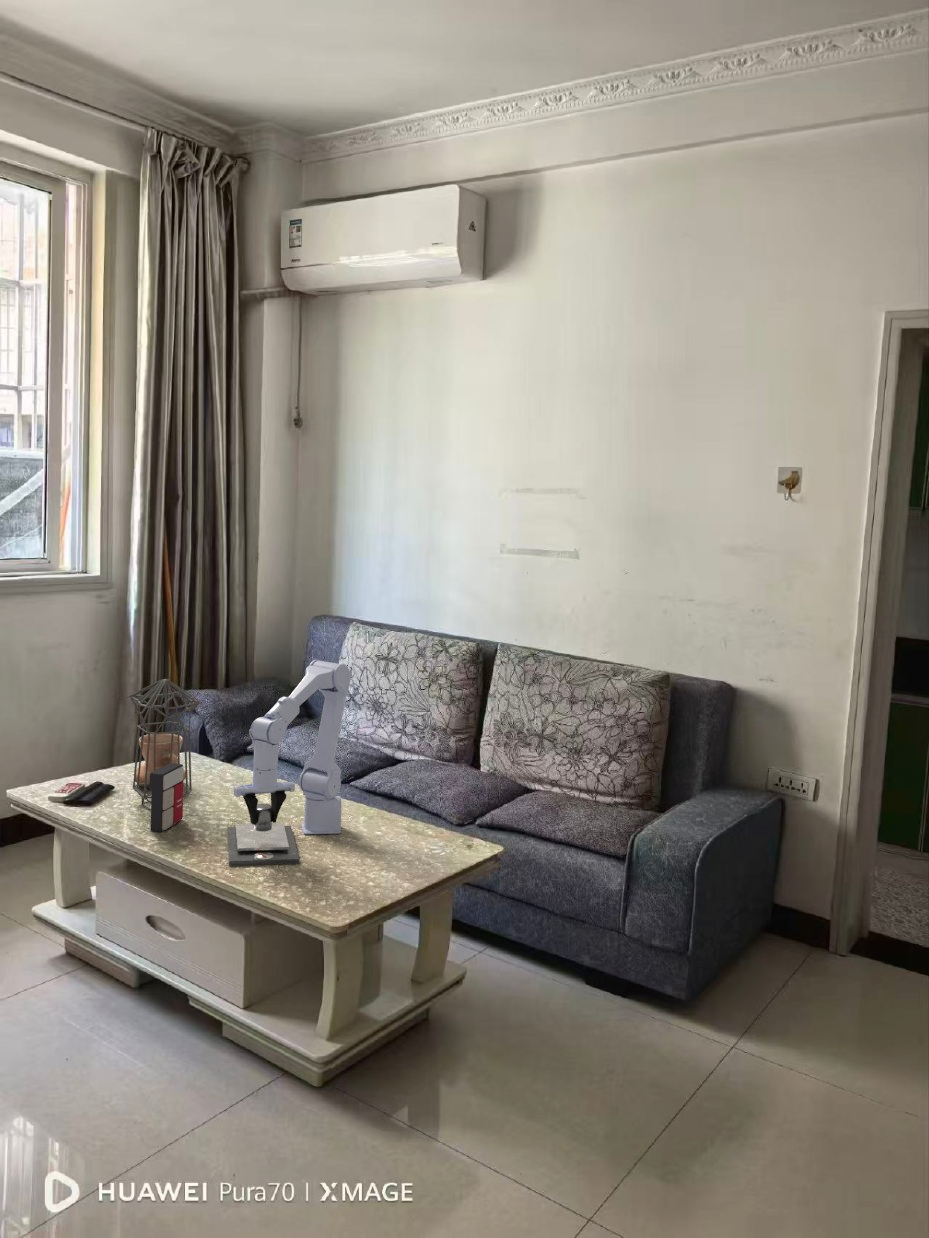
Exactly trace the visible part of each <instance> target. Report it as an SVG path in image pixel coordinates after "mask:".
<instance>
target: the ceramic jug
mask: <svg viewBox="0 0 929 1238" xmlns="http://www.w3.org/2000/svg"><path fill="white" fill-rule="evenodd" d="M141 737H142V736H140V737H139V748H140V747H141ZM183 739H184V738H183V736H181V735H179V741H180V750H181V748H182V746H183V742H184V740H183ZM147 744H148V734H146V735H145V734H144V738H143V748H142V759H144V762H145V763H144V764H141V768H140V778H139V784H143V783H145V770H146V757H147ZM170 751H171V733H168V734H156V770H157V769H159V768H161V767H163V766H165V765H167V764H169V763H170ZM172 763H176V764H178V741H177V734H175V733H173V750H172ZM153 771H154V735H152V734H150V746H149V759H148V772H147V783H149V782H150V773H151V772H153ZM137 778H138V768H137V770H136V781H135V784H137ZM184 781H186V775H185V768H184V769H183V782H184ZM141 787H143V788H144V785H142V786H141ZM146 789H150V788H149V785H146Z"/></svg>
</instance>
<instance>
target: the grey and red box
mask: <svg viewBox="0 0 929 1238" xmlns="http://www.w3.org/2000/svg"><path fill="white" fill-rule="evenodd" d="M183 769H184V770H185V766H184V764H182V763H180V764H176V763H169V764H167V765H165V766H163V767H161V768H159V769H157V770H155V771H153V772H151V773H150V782H149V788H148V789H149V790H150V792H151V793H150V794H151V798H150V801H151V803H150V809H151V810H150V831H151V832H158V833H162V832H164V831H165V830H167V829H169V828H170V827H172V826H173V825H175V824H177V823H179V822H180V821H181V820H183V816H184V815H183V814H184V798H183V793H185V791H184V788H185V787H184V785H185V783H184V781H183Z"/></svg>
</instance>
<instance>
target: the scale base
mask: <svg viewBox="0 0 929 1238" xmlns="http://www.w3.org/2000/svg"><path fill="white" fill-rule="evenodd" d="M284 827H285V831H286V836H287V840H288V845H289V849H285V850H250V851H238V850H237V838H236V826H227V827H226V833H227V834H226V835H227V836H226V837H227V853H228V855H229V856H228V865H229V867H242V866H243V867H247V866H271V865H272V866H273V865H274V866H278V864H279V866H280V865H299V864H300V857H299V854H298V848H297V846H296V841H295V837H294V833H293V832H294V831H293V829H292V826H291V825H284Z"/></svg>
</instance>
